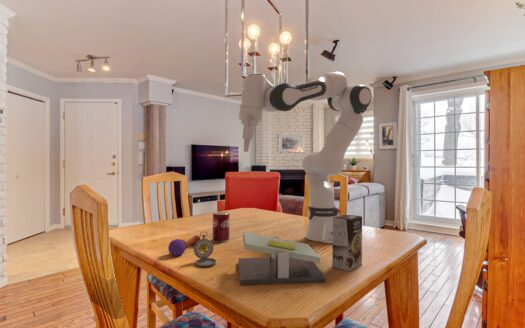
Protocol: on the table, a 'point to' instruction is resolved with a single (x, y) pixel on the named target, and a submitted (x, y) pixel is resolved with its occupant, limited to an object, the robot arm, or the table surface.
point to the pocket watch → (204, 252)
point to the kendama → (181, 245)
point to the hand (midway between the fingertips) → (245, 151)
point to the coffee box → (347, 242)
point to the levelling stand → (278, 270)
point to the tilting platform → (279, 247)
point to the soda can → (221, 226)
